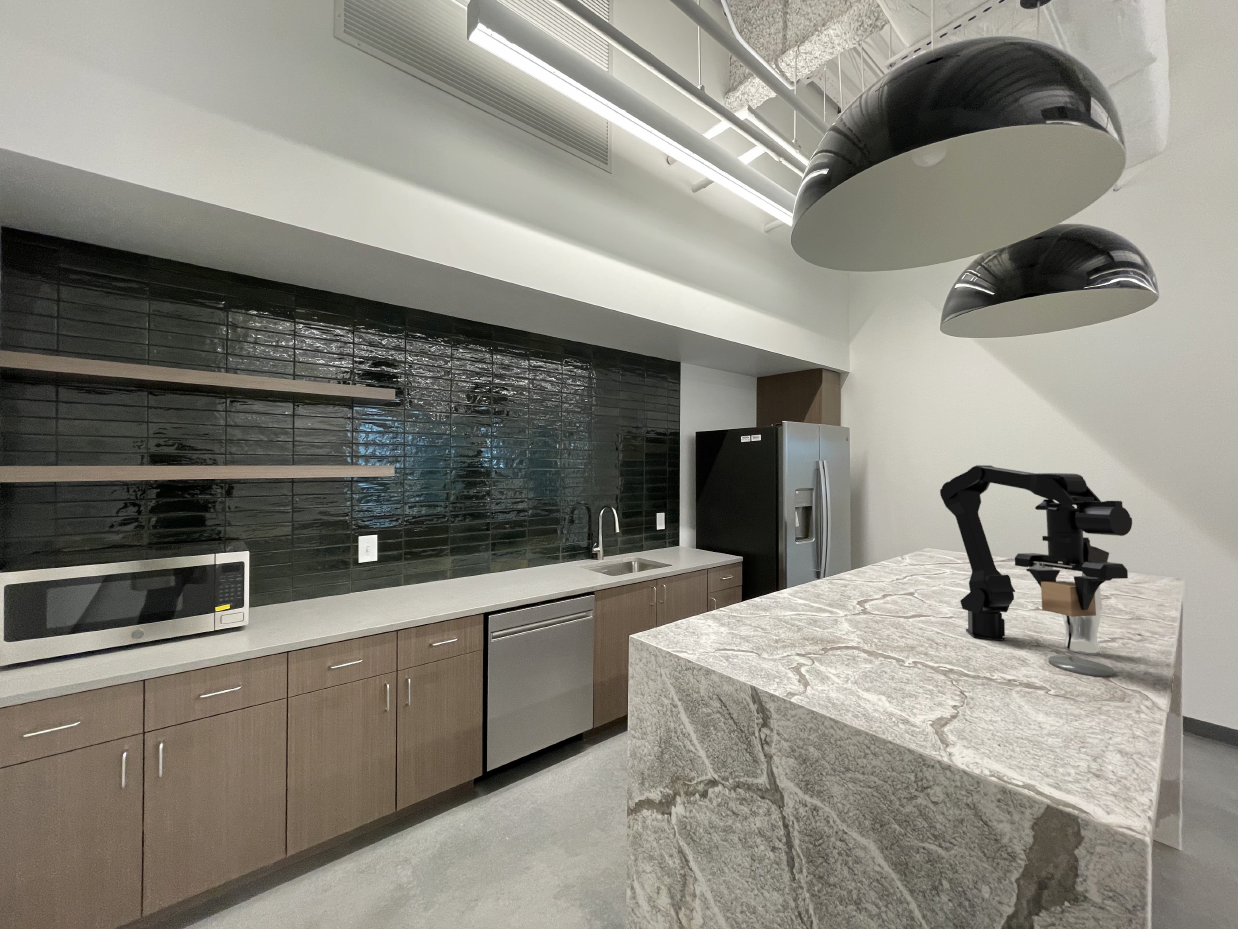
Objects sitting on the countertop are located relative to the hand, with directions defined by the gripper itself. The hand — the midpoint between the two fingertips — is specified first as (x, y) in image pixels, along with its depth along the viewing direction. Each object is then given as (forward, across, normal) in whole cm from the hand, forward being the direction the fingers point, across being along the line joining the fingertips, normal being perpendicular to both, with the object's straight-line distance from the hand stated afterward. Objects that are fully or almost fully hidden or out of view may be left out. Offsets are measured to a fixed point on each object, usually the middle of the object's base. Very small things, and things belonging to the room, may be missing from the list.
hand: (1068, 606), depth 105 cm
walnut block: (+1, 0, 0) cm, 1 cm away
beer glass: (+12, +7, -12) cm, 18 cm away
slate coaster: (+12, -2, 0) cm, 12 cm away
